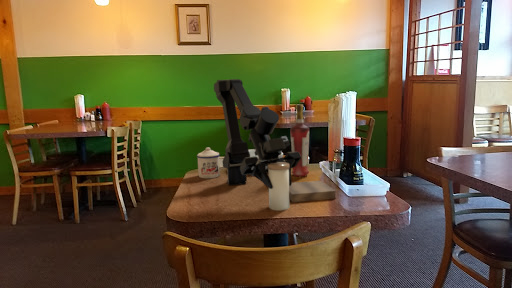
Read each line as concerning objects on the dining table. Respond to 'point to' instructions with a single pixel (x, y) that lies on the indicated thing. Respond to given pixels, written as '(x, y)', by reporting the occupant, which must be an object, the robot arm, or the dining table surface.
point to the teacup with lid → (209, 164)
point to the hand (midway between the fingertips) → (281, 186)
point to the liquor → (300, 143)
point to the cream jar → (279, 185)
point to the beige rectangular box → (310, 191)
